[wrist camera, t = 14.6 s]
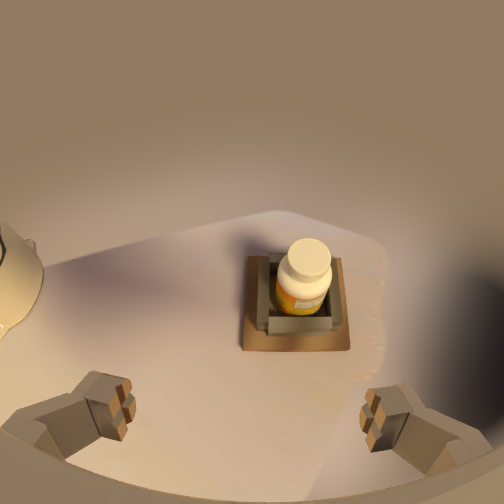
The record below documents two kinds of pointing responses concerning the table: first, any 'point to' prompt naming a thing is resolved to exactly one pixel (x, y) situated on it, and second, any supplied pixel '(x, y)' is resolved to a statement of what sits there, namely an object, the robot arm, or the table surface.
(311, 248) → the supplement bottle
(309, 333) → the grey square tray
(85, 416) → the robot arm
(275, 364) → the table surface
